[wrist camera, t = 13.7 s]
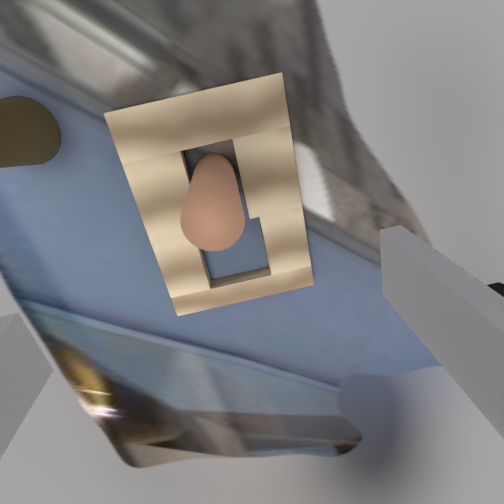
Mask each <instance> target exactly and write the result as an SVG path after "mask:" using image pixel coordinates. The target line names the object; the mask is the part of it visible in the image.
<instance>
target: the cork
mask: <svg viewBox="0 0 504 504" xmlns="http://www.w3.org/2000/svg"><path fill="white" fill-rule="evenodd" d="M59 146H60V131H59V127H58V124H57V122H56V120H55V119H54V117H53V116H52V114H51V113H50V112H49V111H48V110H47V109H46V108H45V107H44V106H43V105H42V104H40V103H38V102H36V101H34V100H32V99H31V98H26V97H22V96H13V97H6V98H3V99H0V168H3V167H14V166H25V165H35V164H43V163H45V162H47V161H49V160H51V159H52V158H53V157H54V156H55V155H56V153H57V152H58V149H59Z"/></svg>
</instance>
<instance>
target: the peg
mask: <svg viewBox="0 0 504 504" xmlns="http://www.w3.org/2000/svg"><path fill="white" fill-rule="evenodd" d="M180 224H181V229H182V231H183V234H184V235H185V237H186V238H187V240H188V241H189V242H190V243H191V244H193V245H194V246H196V247H197V248H200V249H202V250H206V251H221V250H224V249H227V248H229V247H230V246H232V245H233V244H235V243H236V242H237V241H238V240H239V238H240V237H241V235H242V233H243V231H244V227H245V216H244V211H243V207H242V202H241V198H240V194H239V190H238V185H237V181H236V177H235V172H234V168H233V165H232V163H231V162H230V160H229V159H228V158H227V157H225V156H224V155H221V154H218V153H209V154H206V155H204V156H203V157H202V158H200V160H199V161H198V162H197V164H196V167H195V170H194V173H193V176H192V180H191V183H190V186H189V189H188V193H187V196H186V199H185V202H184V206H183V209H182V212H181V217H180Z"/></svg>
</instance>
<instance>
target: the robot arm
mask: <svg viewBox="0 0 504 504" xmlns="http://www.w3.org/2000/svg"><path fill="white" fill-rule="evenodd" d="M380 248H381V268H382V288H383V295H384V297H385V298H386V299H387V300H388V301H389V303H390V304H391V305H392V306H393V307H394V309H395V310H396V311H397V312H398V313H399V315H400V316H401V317H402V318H403V319H404V321H405V322H406V323H407V324H408V325H409V327H410V328H411V329H412V330H413V331H414V333H415V334H416V335H417V336H418V337H419V338H420V340H421V341H422V342H423V343H424V344H425V346H426V347H427V348H428V349H429V350H430V352H431V353H432V354H433V355H434V356H435V358H436V359H437V360H438V361H439V362H440V364H441V365H442V366H443V367H444V368H445V370H446V371H447V372H448V373H449V374H450V375H451V377H452V378H453V379H454V380H455V381H456V383H457V384H458V385H459V386H460V387H461V389H462V390H463V391H464V392H465V393H466V394H467V396H468V397H469V398H470V399H471V401H472V402H473V403H474V404H475V405H476V407H478V409H479V410H480V411H481V413H482V414H483V415H484V416H485V417H486V419H487V420H488V421H489V422H490V423H491V425H492V426H493V427H494V428H495V429H496V431H497V432H498V433H499V434H500V435H501V436H502V438H503V439H504V284H502V283H494V284H490V285H485V284H484V283H483V282H481V281H480V280H478V279H477V278H476V277H474V276H473V275H471V274H469V273H468V272H467V271H466V270H464V269H463V268H461V267H460V266H458V265H457V264H456V263H454V262H453V261H451V260H450V259H448V258H447V257H445V256H444V255H443V254H441V253H440V252H438V251H437V250H436V249H434V248H433V247H431V246H430V245H428V244H427V243H426V242H424V241H423V240H421V239H420V238H418V237H417V236H416V235H414V234H413V233H411V232H410V231H408V230H407V229H406V228H404V227H403V226H401V225H399V226H395V227H390V228H386V229H382V230H380ZM52 372H53V369H52V367H51V365H50V364H49V362H48V360H47V359H46V357H45V356H44V354H43V352H42V351H41V349H40V347H39V346H38V344H37V342H36V341H35V339H34V337H33V336H32V334H31V333H30V331H29V329H28V328H27V326H26V325H25V323H24V321H23V319H22V318H21V316H20V315H19V313H16V314H11V315H7V316H2V317H0V459H1V457H2V455H3V453H4V452H5V450H6V449H7V447H8V445H9V443H10V442H11V440H12V438H13V437H14V435H15V433H16V431H17V430H18V428H19V427H20V425H21V423H22V422H23V420H24V418H25V417H26V415H27V413H28V412H29V410H30V408H31V407H32V405H33V403H34V402H35V400H36V398H37V397H38V395H39V393H40V392H41V390H42V388H43V387H44V385H45V383H46V382H47V380H48V378H49V377H50V375H51V373H52Z"/></svg>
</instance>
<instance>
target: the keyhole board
mask: <svg viewBox="0 0 504 504" xmlns="http://www.w3.org/2000/svg"><path fill="white" fill-rule="evenodd" d="M104 116H105V119H106V122H107V124H108V127H109V130H110V132H111V135H112V138H113V141H114V143H115V146H116V149H117V152H118V154H119V157H120V160H121V163H122V165H123V168H124V171H125V173H126V176H127V179H128V182H129V184H130V187H131V190H132V193H133V195H134V198H135V201H136V204H137V206H138V209H139V212H140V215H141V217H142V220H143V223H144V225H145V228H146V231H147V234H148V236H149V239H150V242H151V245H152V247H153V250H154V253H155V256H156V258H157V261H158V264H159V266H160V269H161V272H162V275H163V277H164V280H165V283H166V286H167V288H168V291H169V294H170V297H171V299H172V302H173V305H174V307H175V310H176V313H177V316H181V315H185V314H189V313H194V312H198V311H203V310H207V309H211V308H216V307H220V306H224V305H229V304H233V303H237V302H242V301H246V300H251V299H255V298H259V297H264V296H268V295H272V294H277V293H281V292H285V291H290V290H294V289H299V288H303V287H307V286H312V285H314V282H313V275H312V268H311V262H310V255H309V248H308V242H307V235H306V228H305V222H304V215H303V208H302V202H301V195H300V188H299V182H298V175H297V168H296V162H295V155H294V148H293V142H292V135H291V128H290V122H289V115H288V108H287V102H286V95H285V88H284V82H283V75H282V72H281V73H277V74H272V75H268V76H264V77H259V78H255V79H251V80H246V81H242V82H238V83H233V84H229V85H224V86H220V87H216V88H211V89H207V90H203V91H198V92H194V93H190V94H185V95H181V96H177V97H172V98H168V99H163V100H159V101H155V102H150V103H146V104H142V105H137V106H133V107H129V108H124V109H120V110H116V111H111V112H107V113H104ZM231 139H232V141H233V146H234V150H235V155H236V159H237V164H238V168H239V173H240V177H241V182H242V186H243V191H244V195H245V200H246V204H247V209H248V213H249V217H250V219H252V218H256V217H259V220H260V225H261V230H262V235H263V240H264V244H265V249H266V254H267V259H268V263H269V267H267V268H263V269H258V270H254V271H249V272H245V273H241V274H236V275H232V276H228V277H223V278H219V279H215V280H211V279H210V276H209V273H208V269H207V266H206V263H205V259H204V256H203V253H202V249H200V248H197V247H196V246H194V245H193V244H191V243H190V242H189V241H188V240H187V238H186V237H185V235H184V234H183V231H182V229H181V224H180V217H181V212H182V209H183V206H184V202H185V199H186V196H187V193H188V189H189V186H190V183H191V178H190V175H189V171H188V168H187V164H186V161H185V157H184V154H183V150H187V149H192V148H196V147H200V146H205V145H209V144H213V143H218V142H222V141H226V140H231Z"/></svg>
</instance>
